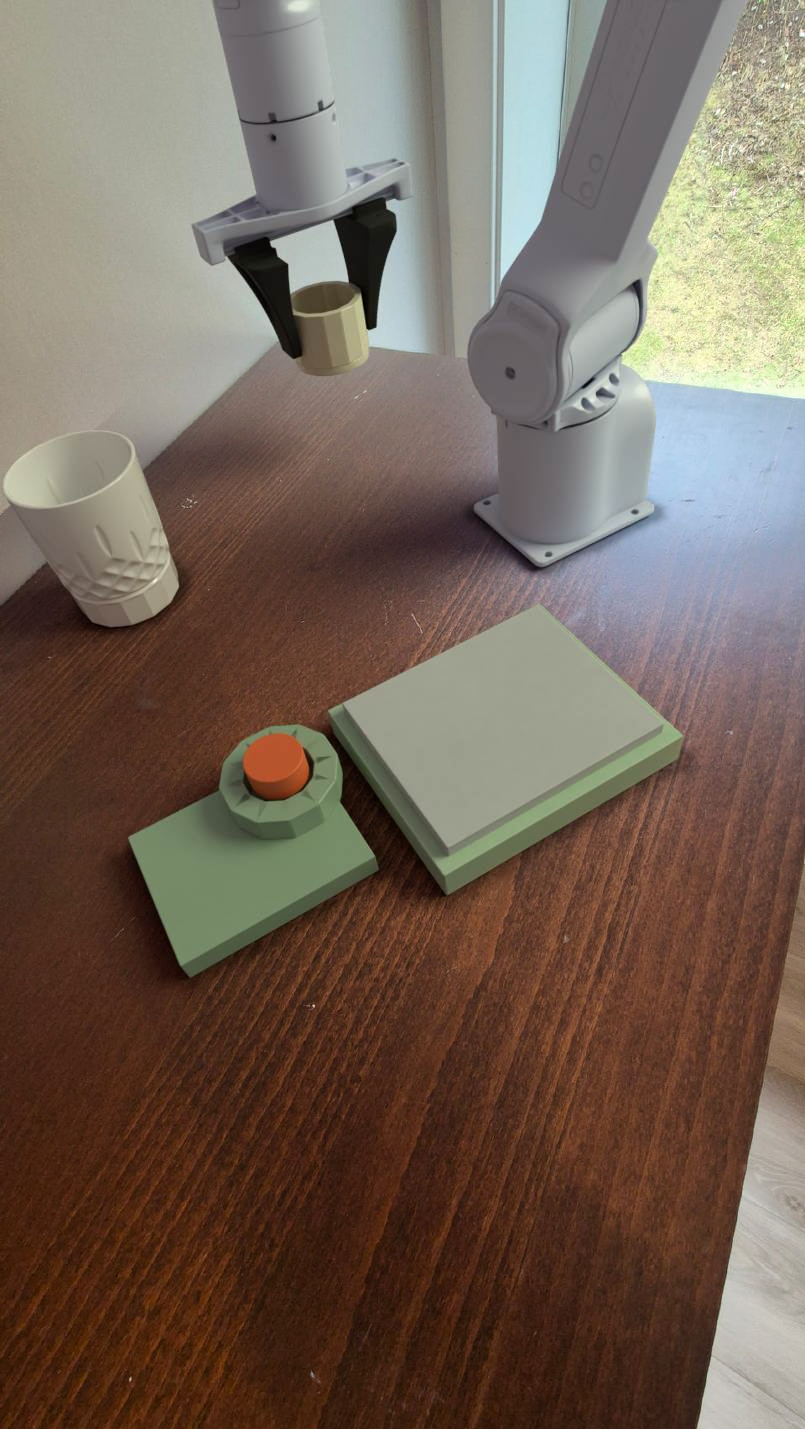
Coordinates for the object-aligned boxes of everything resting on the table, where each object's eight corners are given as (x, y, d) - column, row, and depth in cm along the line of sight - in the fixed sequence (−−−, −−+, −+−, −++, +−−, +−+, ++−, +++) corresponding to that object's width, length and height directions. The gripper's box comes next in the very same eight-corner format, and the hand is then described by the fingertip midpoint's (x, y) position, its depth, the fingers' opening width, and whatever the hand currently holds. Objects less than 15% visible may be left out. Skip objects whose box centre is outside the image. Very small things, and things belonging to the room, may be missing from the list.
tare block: (317, 742, 45) (305, 707, 43) (396, 860, 40) (388, 828, 38) (131, 837, 43) (109, 806, 40) (189, 978, 37) (167, 951, 35)
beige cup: (348, 332, 61) (338, 273, 58) (383, 358, 58) (375, 298, 55) (284, 356, 60) (270, 298, 57) (316, 385, 57) (303, 325, 54)
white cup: (162, 638, 52) (99, 509, 45) (54, 631, 54) (-25, 506, 46) (204, 558, 57) (155, 429, 49) (104, 554, 59) (41, 429, 51)
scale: (538, 627, 49) (539, 592, 47) (678, 759, 42) (686, 725, 40) (333, 733, 46) (323, 700, 43) (446, 896, 38) (442, 867, 36)
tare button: (294, 742, 42) (287, 723, 41) (319, 781, 40) (313, 763, 39) (241, 769, 41) (232, 750, 40) (264, 810, 40) (256, 792, 38)
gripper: (363, 66, 52) (391, 287, 62) (149, 129, 48) (217, 352, 59) (419, 84, 48) (439, 318, 58) (189, 154, 44) (254, 390, 54)
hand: (330, 338), depth 58 cm, fingers closed on beige cup, 5 cm apart
